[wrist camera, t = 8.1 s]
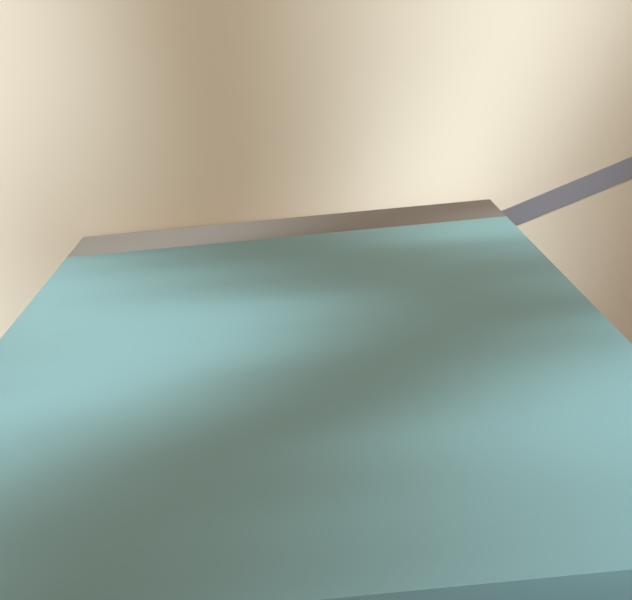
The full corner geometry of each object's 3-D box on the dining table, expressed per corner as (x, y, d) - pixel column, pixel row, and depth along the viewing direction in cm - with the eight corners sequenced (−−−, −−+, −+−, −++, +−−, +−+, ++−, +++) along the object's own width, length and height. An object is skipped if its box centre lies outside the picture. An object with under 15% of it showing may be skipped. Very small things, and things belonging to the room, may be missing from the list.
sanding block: (490, 199, 7) (834, 549, 3) (448, 573, 12) (544, 913, 7) (83, 237, 7) (-260, 656, 3) (209, 596, 12) (164, 952, 7)
